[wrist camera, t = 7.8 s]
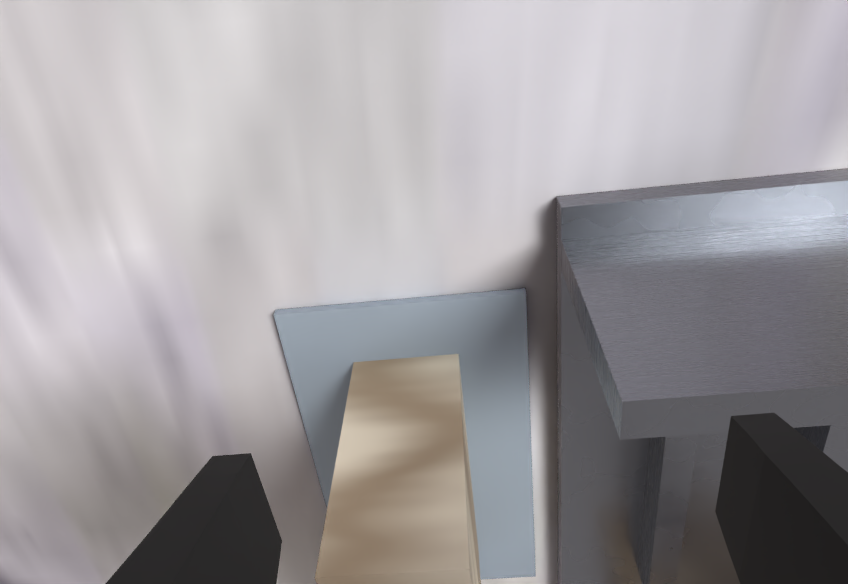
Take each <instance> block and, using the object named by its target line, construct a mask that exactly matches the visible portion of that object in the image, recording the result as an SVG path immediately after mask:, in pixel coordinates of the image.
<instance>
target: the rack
mask: <svg viewBox="0 0 848 584" xmlns="http://www.w3.org/2000/svg"><path fill="white" fill-rule="evenodd" d="M557 388H558V584H741V583H740V581H739V579H738V576H737V573H736V571H735V568H734V565H733V562H732V560H731V557H730V554H729V551H728V548H727V545H726V542H725V539H724V536H723V533H722V530H721V527H720V524H719V521H718V518H717V515H716V512H715V510H716V504H717V498H718V492H719V486H720V480H721V473H722V467H723V461H724V455H725V449H726V443H727V437H728V431H729V425H730V419H731V416H737V415H750V414H763V413H775V414H777V415H778V416H779V417H780V418H782V419H783V420H784V421H785V422H787V423H788V424H789V425H790V426H792V427H793V428H794V429H795V430H797V431H798V432H799V433H800V434H801V435H803V436H804V437H805V438H806V439H808V440H809V441H810V442H811V443H812V444H814V445H815V446H816V447H817V448H818V449H820V450H821V451H822V452H823V453H825V454H826V455H827V456H828V457H829V458H831V459H832V460H833V461H834V462H836V463H837V464H838V465H839V466H840V467H842V468H843V469H844V470H845V471H847V472H848V168H847V169H837V170H827V171H816V172H806V173H795V174H785V175H775V176H764V177H754V178H743V179H733V180H722V181H712V182H702V183H691V184H681V185H670V186H660V187H650V188H639V189H629V190H618V191H608V192H597V193H587V194H577V195H566V196H557Z"/></svg>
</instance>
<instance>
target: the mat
mask: <svg viewBox="0 0 848 584" xmlns="http://www.w3.org/2000/svg"><path fill="white" fill-rule="evenodd" d="M274 318H275V322H276V325H277V329H278V333H279V336H280V340H281V344H282V347H283V351H284V354H285V358H286V362H287V365H288V369H289V373H290V376H291V380H292V384H293V387H294V391H295V394H296V398H297V402H298V405H299V409H300V413H301V416H302V420H303V423H304V427H305V431H306V434H307V438H308V442H309V445H310V449H311V453H312V456H313V460H314V463H315V467H316V471H317V474H318V478H319V482H320V485H321V489H322V492H323V496H324V500H325V503H326V507H328V502H329V496H330V491H331V485H332V479H333V474H334V468H335V463H336V457H337V452H338V446H339V441H340V435H341V429H342V424H343V418H344V413H345V407H346V402H347V396H348V391H349V385H350V379H351V374H352V368H353V363H354V362H362V361H375V360H388V359H400V358H413V357H425V356H438V355H451V354H459V364H460V373H461V383H462V393H463V403H464V413H465V423H466V432H467V442H468V452H469V462H470V472H471V482H472V491H473V501H474V511H475V521H476V531H477V540H478V550H479V565H480V579H496V578H514V577H533V576H536V574H535V544H534V514H533V485H532V455H531V426H530V396H529V366H528V337H527V307H526V291H525V288H523V289H511V290H500V291H488V292H476V293H465V294H453V295H442V296H430V297H419V298H407V299H395V300H384V301H372V302H361V303H349V304H337V305H326V306H314V307H303V308H291V309H280V310H275V313H274Z"/></svg>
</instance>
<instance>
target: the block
mask: <svg viewBox="0 0 848 584" xmlns="http://www.w3.org/2000/svg"><path fill="white" fill-rule="evenodd" d="M315 580H316V583H317V584H481V580H480V565H479V550H478V540H477V531H476V521H475V511H474V501H473V491H472V482H471V472H470V462H469V452H468V442H467V432H466V423H465V413H464V403H463V393H462V383H461V373H460V364H459V354H451V355H438V356H425V357H413V358H400V359H388V360H375V361H362V362H354V363H353V368H352V374H351V379H350V385H349V391H348V396H347V402H346V407H345V413H344V418H343V424H342V429H341V435H340V441H339V446H338V452H337V457H336V463H335V468H334V474H333V479H332V485H331V491H330V496H329V502H328V507H327V513H326V518H325V524H324V529H323V535H322V541H321V546H320V552H319V557H318V563H317V568H316V574H315Z"/></svg>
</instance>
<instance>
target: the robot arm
mask: <svg viewBox="0 0 848 584" xmlns="http://www.w3.org/2000/svg"><path fill="white" fill-rule="evenodd" d="M715 512H716V515H717V518H718V521H719V524H720V527H721V530H722V533H723V536H724V539H725V542H726V545H727V548H728V551H729V554H730V557H731V560H732V562H733V565H734V568H735V571H736V573H737V576H738V579H739V581H740V583H741V584H848V472H847V471H845V470H844V469H843V468H842V467H840V466H839V465H838V464H837V463H836V462H834V461H833V460H832V459H831V458H829V457H828V456H827V455H826V454H825V453H823V452H822V451H821V450H820V449H818V448H817V447H816V446H815V445H814V444H812V443H811V442H810V441H809V440H808V439H806V438H805V437H804V436H803V435H801V434H800V433H799V432H798V431H797V430H795V429H794V428H793V427H792V426H790V425H789V424H788V423H787V422H785V421H784V420H783V419H782V418H780V417H779V416H778V415H777V414H775V413H763V414H750V415H737V416H731V419H730V425H729V431H728V437H727V443H726V449H725V455H724V461H723V467H722V473H721V480H720V486H719V492H718V498H717V504H716V510H715ZM281 543H282V540H281V537H280V534H279V531H278V529H277V526H276V523H275V520H274V517H273V515H272V512H271V509H270V506H269V503H268V500H267V498H266V495H265V492H264V489H263V486H262V484H261V481H260V478H259V475H258V472H257V470H256V467H255V464H254V461H253V458H252V456H251V453H249V454H236V455H223V456H213V457H212V458H211V459H210V460H209V461H208V462H207V464H206V465H205V466H204V467H203V468H202V470H201V471H200V472H199V473H198V474H197V475H196V477H195V478H194V479H193V480H192V481H191V483H190V484H189V485H188V486H187V487H186V489H185V490H184V491H183V492H182V494H181V495H180V496H179V497H178V498H177V500H176V501H175V502H174V503H173V504H172V506H171V507H170V508H169V509H168V511H167V512H166V513H165V514H164V515H163V517H162V518H161V519H160V520H159V521H158V523H157V524H156V525H155V526H154V528H153V529H152V530H151V531H150V532H149V534H148V535H147V536H146V537H145V538H144V539H143V541H142V542H141V543H140V544H139V545H138V547H137V548H136V549H135V550H134V551H133V552H132V554H131V555H130V556H129V557H128V558H127V559H126V561H125V562H124V563H123V564H122V565H121V566H120V568H119V569H118V570H117V571H116V572H115V573H114V575H113V576H112V577H111V578H110V579H109V580H108V582H107V583H106V584H276V581H277V574H278V566H279V559H280V551H281Z"/></svg>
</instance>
